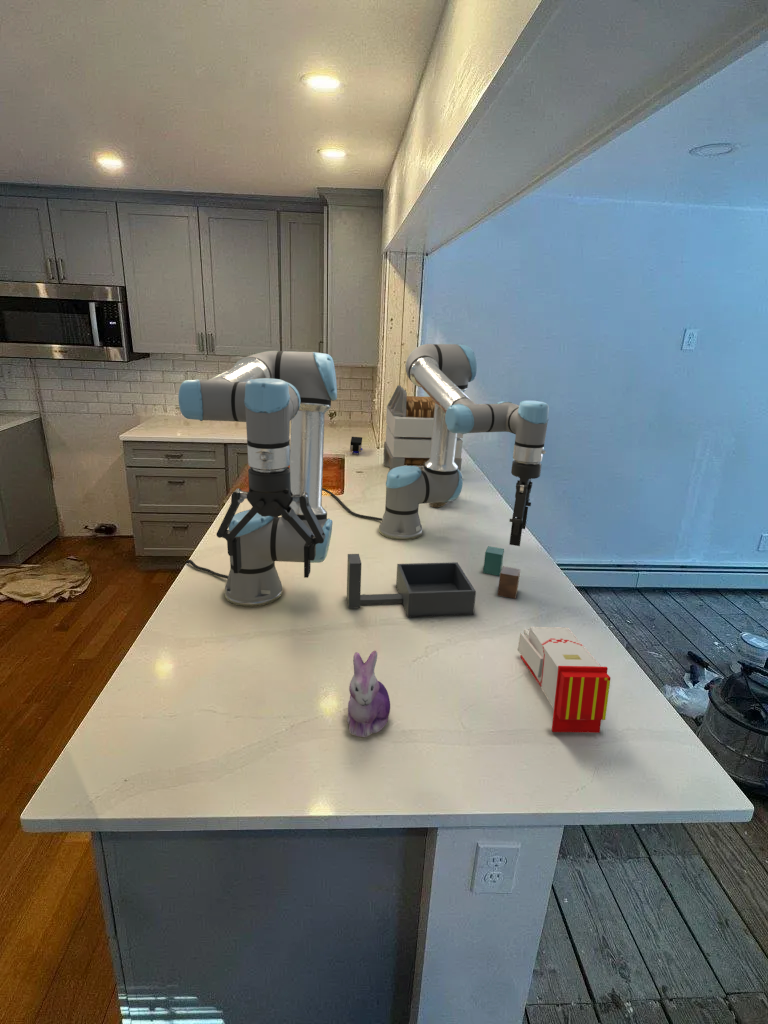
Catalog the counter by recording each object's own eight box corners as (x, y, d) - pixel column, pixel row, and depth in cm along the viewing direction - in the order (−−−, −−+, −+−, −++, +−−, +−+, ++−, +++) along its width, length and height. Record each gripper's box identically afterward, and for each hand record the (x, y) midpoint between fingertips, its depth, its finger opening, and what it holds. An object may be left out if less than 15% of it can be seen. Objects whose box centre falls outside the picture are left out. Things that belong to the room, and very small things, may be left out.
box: (350, 619, 144) (352, 573, 139) (344, 587, 160) (345, 545, 156) (473, 614, 149) (478, 570, 144) (455, 584, 165) (459, 543, 161)
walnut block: (497, 595, 160) (500, 573, 157) (500, 588, 164) (502, 566, 162) (515, 599, 158) (518, 576, 156) (517, 591, 162) (520, 569, 160)
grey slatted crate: (382, 463, 289) (386, 382, 275) (445, 464, 293) (451, 384, 279) (390, 482, 257) (394, 392, 243) (460, 483, 261) (468, 394, 247)
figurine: (356, 747, 102) (359, 677, 97) (334, 712, 111) (335, 646, 105) (402, 731, 106) (406, 663, 101) (377, 699, 115) (380, 635, 110)
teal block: (482, 572, 173) (485, 551, 171) (485, 566, 177) (488, 545, 175) (499, 575, 171) (502, 554, 169) (501, 569, 176) (504, 548, 174)
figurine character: (361, 458, 302) (362, 448, 315) (362, 444, 299) (362, 435, 312) (349, 458, 302) (350, 448, 315) (349, 444, 298) (350, 435, 312)
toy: (564, 611, 133) (619, 673, 103) (558, 664, 135) (611, 739, 106) (512, 610, 132) (554, 672, 103) (508, 663, 135) (547, 738, 106)
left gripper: (193, 469, 99) (202, 577, 107) (335, 476, 99) (333, 585, 106) (208, 457, 106) (215, 560, 114) (340, 465, 106) (338, 567, 113)
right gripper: (537, 474, 136) (526, 555, 143) (545, 452, 159) (535, 523, 166) (506, 470, 139) (497, 550, 146) (518, 449, 161) (509, 519, 168)
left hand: (272, 572), depth 110 cm, fingers open, 13 cm apart
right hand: (517, 536), depth 156 cm, fingers open, 13 cm apart
